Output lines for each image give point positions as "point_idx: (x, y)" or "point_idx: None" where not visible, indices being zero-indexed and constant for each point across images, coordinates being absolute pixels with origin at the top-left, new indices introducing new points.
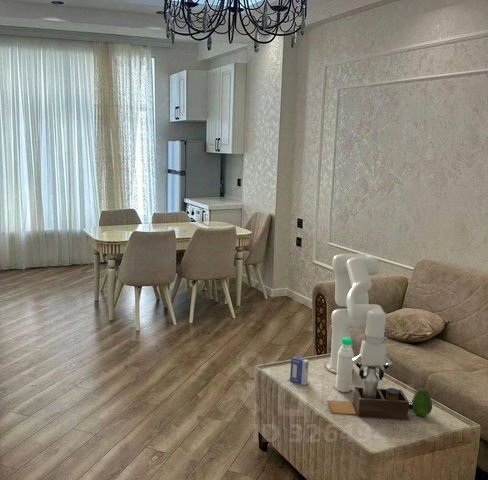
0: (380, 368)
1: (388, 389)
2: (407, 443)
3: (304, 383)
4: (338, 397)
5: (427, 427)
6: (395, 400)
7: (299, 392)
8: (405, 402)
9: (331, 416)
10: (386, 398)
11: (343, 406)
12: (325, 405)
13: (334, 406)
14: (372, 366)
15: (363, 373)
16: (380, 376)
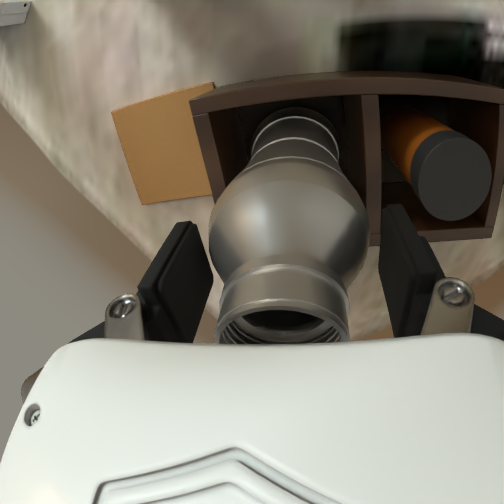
0: (416, 319)
1: (435, 166)
2: (389, 323)
3: (19, 23)
4: (147, 49)
5: (492, 233)
6: (436, 233)
7: (20, 91)
8: (476, 237)
9: (146, 226)
10: (401, 165)
11: (175, 140)
12: (108, 149)
13: (139, 154)
14: (302, 307)
15: (196, 325)
16: (385, 293)
